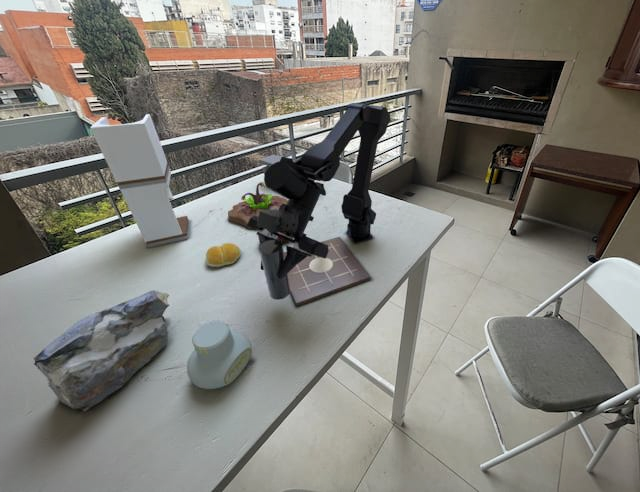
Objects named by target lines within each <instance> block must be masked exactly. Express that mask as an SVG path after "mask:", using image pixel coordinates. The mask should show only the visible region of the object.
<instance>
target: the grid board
mask: <svg viewBox="0 0 640 492" xmlns="http://www.w3.org/2000/svg"><path fill="white" fill-rule="evenodd" d="M320 242H321V243H324V244H326V245H328V250H329V252H328V254H327V257H326V259H325V258H322V257H319V256H315V255H312V256H311V257H309V256H307V257H306V258H305V259H303V260H302V261H301V262H300V263H298V264H297V265H296V266H295V267H294V268H293V269H292V270H291V271H290V272H288V279H289V284H290V294H291V296H292V298H293V301H294V303H295V305H296V307H298V306H300V305H303V304H306V303H309V302H312V301H315V300H317V299H320V298H323V297H325V296H328V295H331V294H334V293H337V292H340V291H343V290H345V289H348V288H350V287H354V286H356V285H359V284H362V283H364V282H366V281H370V280H371V275H370V273H368V271H367V270H366V269H365V267H364V266H363V265H362V263H361V262H360V261H359V260H358V258H357V257H356V255H354V253H353V252H352V251H351V249H350V248H349V247H348V245H347V244H346V243H345V241H343V239H342V238H341V236H338V237H333V238H330V239H327V240H323V241H320ZM286 255H287V251H284V256H285V257H286Z"/></svg>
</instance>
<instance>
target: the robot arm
mask: <svg viewBox="0 0 640 492" xmlns="http://www.w3.org/2000/svg"><path fill="white" fill-rule="evenodd" d="M390 121H391V113H390V112H389V110H388V108H387V107H386V106H379V105H371V104H364V103H359V102H351V103H348V104H347V106H346V108H345V112H344V113H342V115H341V117H340V118H339V119H338V121H337V122H336V123H335V124H334V126H333V127H332V128H331V129H330V131H329V132H328V133H327V135H326V136H325V138H324V139H323V140H322V141H320V142H318V143H315V144H312V145H311V146H310V147H309V148H308V149H307V150H306V151H305V152H304V153H302V155H301V157H299V158H298V159H297V160H294V159H292V158H290V157H287V156H280V157H281V160H280V161H279V162H276V163H274V164H272V165H271V166H270V167H269V169H267V170H266V172H265V175H264V174H263V183H264V186H265V187H266V188H268V189H269V190H271V191H273V192H275V193H277V194H278V195H280V196H282V198H284V199H286V200H287V201H288V202H287V204H283V203H282V205H281V206H280V208H279V209H278V210H259V216H253V217H251V218H250V220H249V222H248V224H247V226H249V227H251V228H253V229H252V230H256V235H257V237H258V236H259V237H260V239H261V242H262V243H264V242H265V241H268V240H278V239H277V238H278V237H281V238H283V239H285V240H288V242H290V243H292V244H293V245H292V246H289V245H286V246H285V247H286V248H285V249H286V252H287V255H286V257H285V259H284V262H283V264H282V266H281V268H280V271H279V274H278V277H277V278H278V279H282V278H283V277H284V276H285V275H286V274H287V273H288V272H290V271H291V270H292V269H293V268H294V267H295V266H296V265H297V264H298V263H300V262H301V261H302V260H303V259H305V258H306V257H307V256H309V257H311V256H312V255H315V256H319V257H322V258H325V259H326V257H327V254H328V252H329V250H328V245H326V244H324V243H321V242H322V241H318V240H316V239H314V238H311V237H309V236H307V233H305V232H306V231H305V230H306V228H307V227H308V224H309V221H310V222H313V221H314V220H315V219H314V218H315V217H314V216H313V215H312V214H313V212H314V210H315V208H316V205H317V203H318V201H319V199H320V196H324V197H325V196H326V195H327V191H326V189H325V184H324V183H322V182H330V181H331V180H333V179H334V177H335V176H336V173H337V171H338V169H339V168H340V166H341V160H340V158H341V156H342V153H343V152H344V151H345V149H346V148H347V146H348V145H349V144H350V142H351V141H352V139H353V138H354V136H355V135H356V134H357V132H358V134H359V137H360V139H359V140H360V141H359V146H358V152H357V156H356V157H357V158H356V163H355V169H354V173H353V174H354V175H353V180H352V185H351V189H350V190H349V191H348V193H347V194H346V193H345V194H344V195H343V197H342V203H341V213H342V215H343V218H344V220H348V223H347V226H346V228H347V230H346V235H347V236H348V237H349V238H350V239H351V240H352V242H353V243H354V244H356V243H360V242H363V241H368V240H371V239H373V238H374V237H373V234H371V229H372V228H371V227H372V226H371V225H374V224H375V220H376V218H377V217H376V216H377V213H376V211H375V210H373V209H372V205H373V201H372V197H371V195H370V192H369V191H370V185H371V180H372V175H373V170H374V165H375V159H376V154H377V149H378V144H379V141H380V140H381V139H382V138H383V136H384V135H385V134H386V132H387V129H388V125H389V124H390ZM293 160H294V161H295V162H294V161H293ZM308 178H310V179H314V180H315V181H313V180H310V179H308ZM257 230H258V231H260V232H259V233H258V231H257ZM283 231H284V232H286V233H285V234H284V233H282V232H283ZM291 235H293V236H294V238H293V237H291ZM259 237H258V238H259ZM278 241H280V240H278ZM280 242H281V243H282V241H280ZM282 244H283V243H282ZM260 270H261V271H264V269H263V265H262V260H261V259H260Z"/></svg>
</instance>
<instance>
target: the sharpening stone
mask: <svg viewBox="0 0 640 492" xmlns="http://www.w3.org/2000/svg"><path fill="white" fill-rule="evenodd" d="M281 157H282V156H280V155H277V154H270V155H268V156H265V157H262V158H260V159H258V163H259V164H260V165H264V166H263V167H261V170H262V174H263V176H264V175H265V172H266V170H267V169H269V167H270V166H271V165H272V164H274V163H276V162H279V161H280V160H281ZM292 160H293V161H294V162H295V161H296V160H294V159H292ZM308 179H310V178H308ZM310 180H313V181H314V182H316V180H314V179H310Z"/></svg>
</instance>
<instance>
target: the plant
mask: <svg viewBox="0 0 640 492" xmlns="http://www.w3.org/2000/svg"><path fill="white" fill-rule="evenodd" d="M259 187H261V188H262V187H265V182H262V181H261V182H259V183H257V185H256V188H255V193H253V192H252V193H251V192H246V193H245V194H243V195H242V196H241V197H240V199H241V200H242V201H240V202H238V203H237V204H234V205H232V209H230V210H228V211H227V216H228V219H229V221H230V222H232V223H235V224H240V225H242V226H245V227H246V228H247V229H250V230H251V229H252V230H254V229H253V228H251V227H249V226H247V224H248V222H249V220H250V218H251V217H253V216H259V210H278V209H279V208H280V206H281V205H282V203H283V204H287V202H288V199H287V198H285V197H283V196H282V197H281V196H279V195H273V193H270V194H267V193H266V194H265V193H264V192H263V193H260V189H259ZM248 195H249V198H246V196H248Z"/></svg>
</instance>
